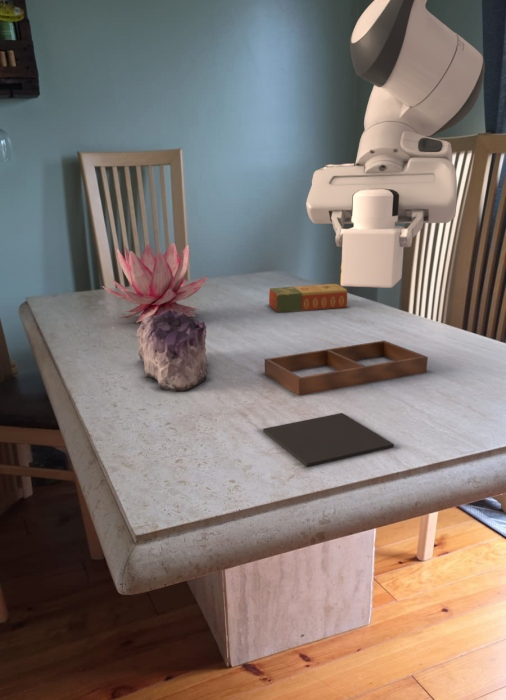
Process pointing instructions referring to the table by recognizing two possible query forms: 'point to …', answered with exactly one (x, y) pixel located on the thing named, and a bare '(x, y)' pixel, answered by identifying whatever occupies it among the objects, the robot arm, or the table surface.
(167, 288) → the decorative flower
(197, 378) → the geode
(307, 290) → the carton
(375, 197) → the medicine bottle
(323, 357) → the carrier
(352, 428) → the coaster
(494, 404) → the table surface
